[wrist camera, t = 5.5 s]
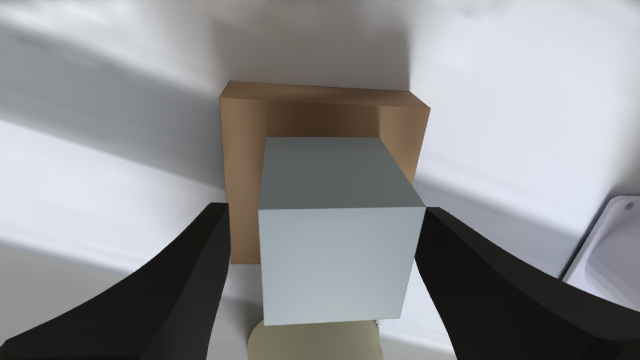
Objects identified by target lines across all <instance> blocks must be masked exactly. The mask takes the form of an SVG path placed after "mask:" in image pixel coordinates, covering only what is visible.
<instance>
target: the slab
mask: <svg viewBox="0 0 640 360" xmlns="http://www.w3.org/2000/svg"><path fill="white" fill-rule="evenodd" d="M219 101H220V116H221V130H222V145H223V159H224V174H225V189H226V203H229V218H230V236H231V253H230V261H231V264H261V253H260V235H259V216H258V207H259V198H260V189H261V179H262V170H263V161H264V152H265V143H266V137H380V139H381V140H382V142H383V143H384V145H385V146H386V148H387V149H388V151H389V152H390V154H391V155H392V157H393V158H394V160H395V161H396V163H397V164H398V166H399V167H400V169H401V170H402V171H403V173H404V174H405V176H406V177H407V179H408V180H409V182H410V183H411V185H412V183H413V179H414V175H415V171H416V167H417V163H418V159H419V155H420V150H421V146H422V142H423V138H424V134H425V130H426V126H427V122H428V117H429V113H430V109H431V108H430V107H428V106H427V105H426V104H425V103H423V102H422V101H421V100H420V99H418V98H417V97H416V96H415V95H413V94H412V93H411V92H410V91H393V90H375V89H357V88H339V87H321V86H304V85H286V84H268V83H250V82H232V81H229V83H228V84H227V86H226V88H225V89H224V91H223V92H222V94H221V96H220V97H219Z"/></svg>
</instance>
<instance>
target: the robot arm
mask: <svg viewBox="0 0 640 360" xmlns="http://www.w3.org/2000/svg"><path fill="white" fill-rule="evenodd" d="M230 253H231V236H230V218H229V203H214V202H211V203H210V204H209V205H207V207H206V208H205V209H204V210H203V211H202V212H201V213H200V214H199V215H198V216H197V217H196V218H195V219H194V221H193V222H192V223H191V224H190V225H189V226H188V227H187V228H186V229H185V230H184V231H183V232H182V233H181V234H180V235H179V236H178V237H176V238H175V239H174V240H173V241H172V242H171V243H170V244H169V245H168V246H166V247H165V248H164V249H163V250H162V251H161V252H160V253H159V254H157V255H156V256H155V257H154V258H152V259H151V260H150V261H149V262H147V263H146V264H145V265H143V266H142V267H141V268H139V269H138V270H136V271H135V272H134V273H132V274H131V275H129V276H128V277H126V278H125V279H123V280H121V281H120V282H118V283H117V284H115V285H114V286H112V287H110V288H109V289H107V290H106V291H104V292H102V293H101V294H99V295H97V296H95V297H94V298H92V299H90V300H88V301H87V302H85V303H83V304H81V305H79V306H77V307H75V308H73V309H72V310H70V311H68V312H66V313H64V314H62V315H60V316H58V317H56V318H54V319H52V320H49V321H47V322H45V323H43V324H41V325H39V326H36V327H34V328H32V329H30V330H28V331H26V332H23V333H21V334H19V335H17V336H14V337H12V338H10V339H7V340H6V341H5V342H4V343H3V345H2V346H1V347H0V360H206V357H207V351H208V345H209V340H210V336H211V332H212V328H213V324H214V321H215V317H216V313H217V310H218V306H219V303H220V299H221V295H222V292H223V288H224V284H225V281H226V277H227V273H228V267H229V260H230ZM414 258H415V261H416V264H417V267H418V270H419V273H420V275H421V277H422V280H423V282H424V284H425V286H426V288H427V290H428V292H429V294H430V297H431V299H432V301H433V303H434V305H435V307H436V309H437V311H438V313H439V315H440V317H441V319H442V322H443V324H444V326H445V328H446V330H447V333H448V335H449V338H450V340H451V343H452V346H453V349H454V352H455V354H456V357H457V360H640V196H624V195H620V196H616V197H614V198H612V199H611V200H610V201H609V203H608V204H607V206H606V208H605V209H604V211H603V213H602V214H601V216H600V218H599V219H598V221H597V223H596V224H595V226H594V228H593V229H592V231H591V233H590V234H589V236H588V238H587V239H586V241H585V243H584V244H583V246H582V248H581V249H580V251H579V253H578V254H577V256H576V258H575V259H574V261H573V263H572V264H571V266H570V268H569V269H568V271H567V273H566V274H565V276H564V278H563V280H562V281H561V280H559V279H557V278H555V277H552V276H550V275H548V274H546V273H544V272H542V271H541V270H539V269H537V268H535V267H533V266H531V265H529V264H527V263H526V262H524V261H522V260H520V259H518V258H517V257H515V256H513V255H512V254H510V253H508V252H507V251H505V250H504V249H502V248H500V247H499V246H497V245H496V244H494V243H492V242H491V241H489V240H488V239H486V238H485V237H483V236H482V235H480V234H479V233H477V232H476V231H475V230H473V229H472V228H470V227H469V226H467V225H466V224H464V223H463V222H461V221H460V220H459V219H457V218H456V217H454V216H453V215H451V214H450V213H448V212H446V211H445V210H443V209H441V208H440V207H426V210H425V214H424V218H423V222H422V227H421V231H420V235H419V239H418V243H417V248H416V252H415V256H414Z"/></svg>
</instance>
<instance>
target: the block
mask: <svg viewBox="0 0 640 360" xmlns="http://www.w3.org/2000/svg"><path fill="white" fill-rule="evenodd" d="M425 210H426V206H425V204H424V203H423V201H422V200H421V198H420V197H419V195H418V194H417V192H416V191H415V189H414V188H413V186H412V185H411V183H410V182H409V180H408V179H407V177H406V176H405V174H404V173H403V171H402V170H401V169H400V167H399V166H398V164H397V163H396V161H395V160H394V158H393V157H392V155H391V154H390V152H389V151H388V149H387V148H386V146H385V145H384V143H383V142H382V140H381V139H380V137H266V143H265V152H264V161H263V170H262V179H261V189H260V198H259V207H258V216H259V235H260V253H261V272H262V291H263V309H264V326H270V325H288V324H306V323H324V322H343V321H361V320H379V319H397V318H400V315H401V311H402V306H403V302H404V298H405V294H406V290H407V285H408V281H409V277H410V273H411V269H412V264H413V260H414V256H415V252H416V248H417V243H418V239H419V235H420V231H421V227H422V222H423V218H424V214H425Z"/></svg>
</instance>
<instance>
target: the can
mask: <svg viewBox="0 0 640 360" xmlns="http://www.w3.org/2000/svg"><path fill="white" fill-rule="evenodd" d="M247 355H248V360H384V358H383V354H382V350H381V346H380V336H379V331H378V328H377V326H376V324H375V322H374V321H373V320H361V321H343V322H324V323H306V324H288V325H270V326H264V319H263V320H261V321H260V322H259V323H258V324H257V325H256V327H255V328H254V329H253V331H252V333H251V335H250V337H249V340H248V344H247Z"/></svg>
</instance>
